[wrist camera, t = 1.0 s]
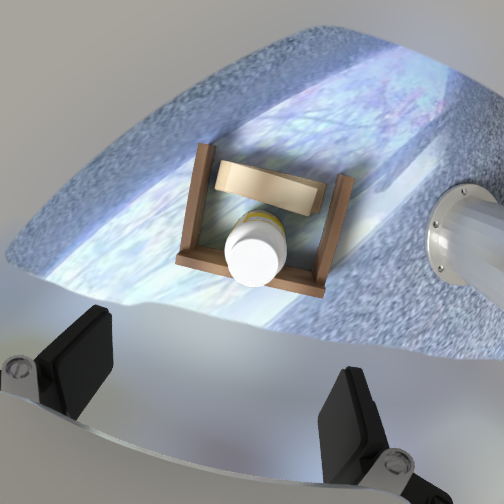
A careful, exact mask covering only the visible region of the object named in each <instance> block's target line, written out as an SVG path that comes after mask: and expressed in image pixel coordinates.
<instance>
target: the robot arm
mask: <svg viewBox="0 0 504 504" xmlns="http://www.w3.org/2000/svg"><path fill="white" fill-rule="evenodd" d="M461 191H462V192H461ZM433 223H434V224H433ZM425 251H426V256H427V259H428V262H429V264H430V266H431V268H432V270H433V271H434V272H435V273H436V274H437V276H439V277H440V278H441V279H442V280H444V281H445V282H447V283H449V284H452V285H467V284H470V285H471V286H472V287H474V288H475V289H476V290H477V291H479V292H480V293H481V294H482V295H484V296H485V297H486V298H487V299H489V300H490V301H491V302H492V303H494V304H495V305H496V306H497V307H498V308H500V309H501V310H502V311H503V312H504V206H503V205H500V204H498V203H497V201H496V199H495V198H494V196H493V195H492V194H491V193H490V192H489V191H488V190H486V189H485V188H483V187H482V186H479V185H476V184H470V183H466V184H459V185H456V186H453V187H452V188H450V189H449V190H447V191H446V192H445V193H444V194H443V195H442V196H441V197H440V198H439V199H438V201H437V202H436V203H435V205H434V207H433V209H432V211H431V213H430V215H429V218H428V221H427V225H426V230H425ZM112 368H113V345H112V315H111V314H110V313H109V311H108V309H107V308H104V307H101V306H98V305H93V306H92V307H91V308H90V309H89V310H87V311H86V312H85V313H84V314H83V315H82V316H81V317H80V318H78V319H77V320H76V321H75V322H74V323H73V324H72V325H70V326H69V327H68V328H67V329H66V330H65V331H64V332H63V333H62V334H61V335H59V336H58V337H57V338H56V339H55V340H54V341H53V342H52V343H51V344H50V345H49V346H47V348H45V349H44V350H43V351H42V352H41V353H40V354H39V355H38V356H37V357H36V358H35V359H34V360H32V359H31V358H29V357H27V356H24V355H16V356H12V357H9V358H8V359H7V360H6V361H5V362H4V363H3V365H2V370H0V504H453V501H452V499H451V497H450V496H449V495H448V494H447V493H446V492H444V491H442V490H441V489H439V488H438V487H436V486H434V485H433V484H431V483H429V482H427V481H426V480H424V479H423V478H421V477H420V476H418V475H416V474H415V473H413V472H414V468H415V465H414V461H413V458H412V457H411V456H410V455H409V454H408V453H407V452H406V451H404V450H401V449H398V448H389V444H388V441H387V438H386V435H385V431H384V428H383V425H382V422H381V419H380V416H379V413H378V410H377V407H376V404H375V402H374V401H373V400H372V397H371V394H370V391H369V388H368V385H367V382H366V379H365V376H364V373H363V371H362V369H361V368H357V367H350V366H348V367H347V368H346V369H342V370H341V372H340V374H339V376H338V378H337V380H336V382H335V384H334V386H333V388H332V390H331V392H330V394H329V396H328V398H327V400H326V402H325V404H324V406H323V407H322V409H321V411H320V413H319V416H318V429H319V439H320V449H321V459H322V470H323V482H324V483H312V482H300V481H289V480H280V479H272V478H264V477H258V476H251V475H245V474H240V473H234V472H229V471H224V470H219V469H215V468H210V467H206V466H202V465H198V464H194V463H190V462H186V461H183V460H179V459H176V458H172V457H169V456H165V455H162V454H159V453H156V452H153V451H150V450H147V449H144V448H141V447H138V446H135V445H133V444H130V443H127V442H124V441H122V440H119V439H117V438H114V437H112V436H109V435H107V434H104V433H102V432H100V431H98V430H95V429H93V428H91V427H89V426H86V425H84V424H82V423H80V422H78V421H76V420H77V419H78V417H79V416H80V414H81V413H82V411H83V410H84V408H85V407H86V406H87V404H88V403H89V401H90V400H91V399H92V397H93V396H94V394H95V393H96V392H97V390H98V389H99V387H100V386H101V385H102V383H103V382H104V381H105V379H106V378H107V376H108V375H109V374H110V372H111V371H112Z"/></svg>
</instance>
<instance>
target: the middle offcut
mask: <svg viewBox="0 0 504 504" xmlns="http://www.w3.org/2000/svg"><path fill="white" fill-rule="evenodd" d="M232 163H233V162H229V161H225V160H221V164H220V168H219V172H218V176H217V180H216V185H215V189H217V190H221V191H224V190H225V186H226V183H227V179H228V176H229V172H230V169H231V165H232ZM236 164H237V163H236ZM239 165H242V164H239ZM243 166H246V165H243ZM247 167H250V166H247ZM250 168H253V169H257V170H260V171H264V172H267V173H270V174H274V175H277V176H280V177H283V178H286V179H290V180H293V181H296V182H299V183H302V184H305V185H308V186H311V187H314V188H316V189H317V192H316V195H315V198H314V201H313V204H312V207H311V210H310V213H309V214H312V210H313V207H314V204H315V200H316V197H317V193H318V190H319V185H316V184H312V183H309V182H305V181H302V180H298V179H295V178H291V177H288V176H284V175H280V174H277V173H273V172H269V171H265V170H261V169H258V168H254V167H250ZM225 192H226V191H225ZM229 193H230V192H229Z"/></svg>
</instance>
